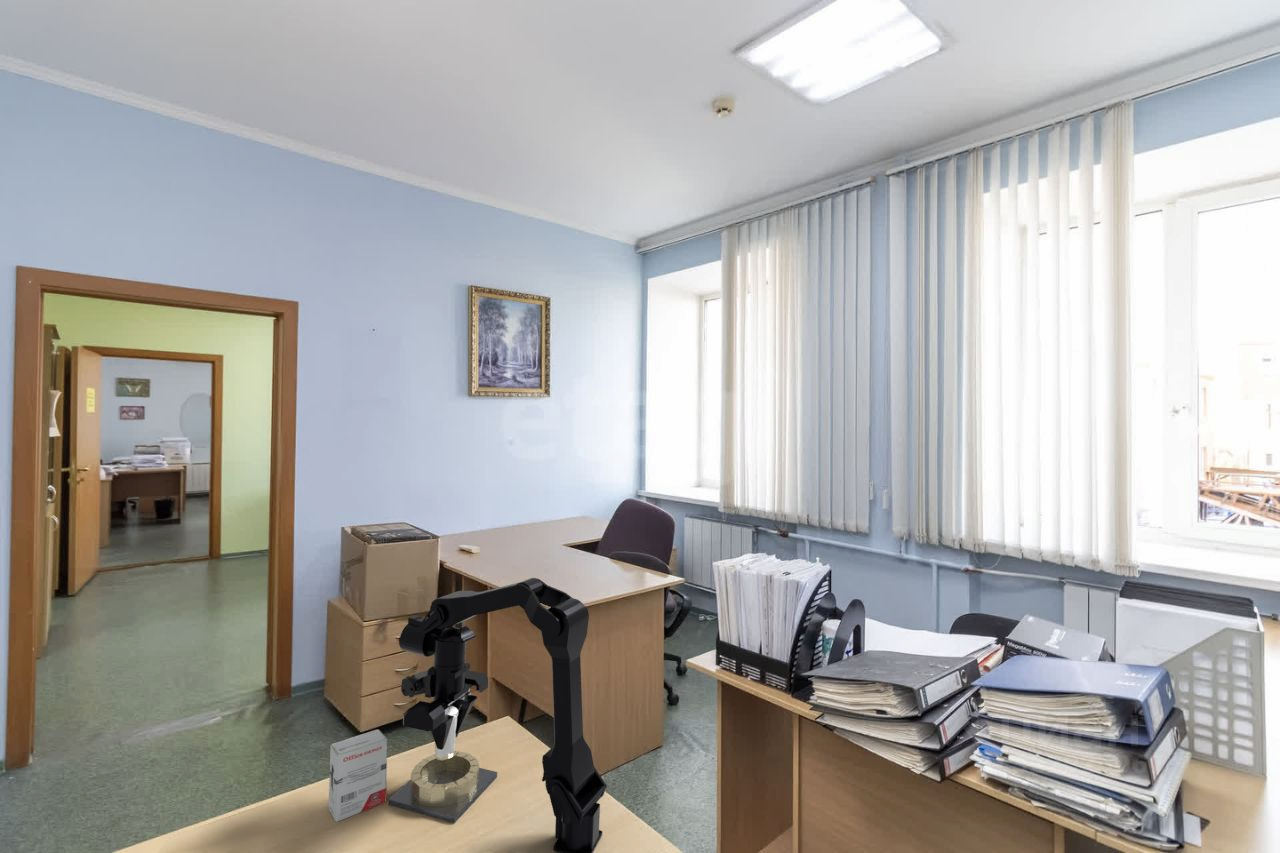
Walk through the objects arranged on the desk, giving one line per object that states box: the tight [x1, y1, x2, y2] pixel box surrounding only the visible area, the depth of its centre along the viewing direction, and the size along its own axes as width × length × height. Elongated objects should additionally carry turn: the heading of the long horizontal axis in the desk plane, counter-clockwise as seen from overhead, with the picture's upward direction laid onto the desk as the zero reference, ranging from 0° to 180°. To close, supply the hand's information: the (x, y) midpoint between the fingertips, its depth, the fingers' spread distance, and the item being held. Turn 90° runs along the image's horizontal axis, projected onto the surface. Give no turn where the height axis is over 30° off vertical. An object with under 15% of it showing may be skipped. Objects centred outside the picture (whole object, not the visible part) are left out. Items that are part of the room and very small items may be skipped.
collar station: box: [387, 750, 498, 824], centre depth 110 cm, size 14×14×4 cm
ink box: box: [328, 729, 388, 823], centre depth 105 cm, size 8×5×12 cm, turn 133°
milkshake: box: [434, 705, 462, 761], centre depth 110 cm, size 4×5×10 cm
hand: (447, 743), depth 110 cm, fingers closed on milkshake, 4 cm apart
